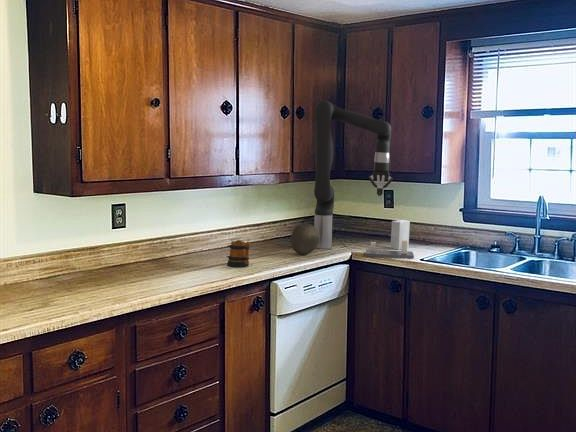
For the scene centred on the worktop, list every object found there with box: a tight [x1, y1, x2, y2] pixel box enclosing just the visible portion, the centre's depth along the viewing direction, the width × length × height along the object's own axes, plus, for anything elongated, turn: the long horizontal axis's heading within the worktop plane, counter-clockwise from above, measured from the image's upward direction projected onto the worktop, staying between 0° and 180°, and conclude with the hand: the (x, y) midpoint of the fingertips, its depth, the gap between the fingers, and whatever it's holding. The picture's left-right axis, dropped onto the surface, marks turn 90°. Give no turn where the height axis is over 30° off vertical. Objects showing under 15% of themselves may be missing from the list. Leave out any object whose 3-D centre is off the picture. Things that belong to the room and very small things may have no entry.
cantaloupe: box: [290, 223, 320, 256], centre depth 311 cm, size 14×14×15 cm
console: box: [365, 241, 415, 259], centre depth 315 cm, size 23×12×6 cm, turn 83°
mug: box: [226, 239, 251, 269], centre depth 280 cm, size 13×10×12 cm
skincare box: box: [390, 219, 411, 251], centre depth 336 cm, size 8×6×15 cm
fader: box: [400, 240, 408, 254], centre depth 313 cm, size 2×3×6 cm
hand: (379, 195), depth 325 cm, fingers closed
